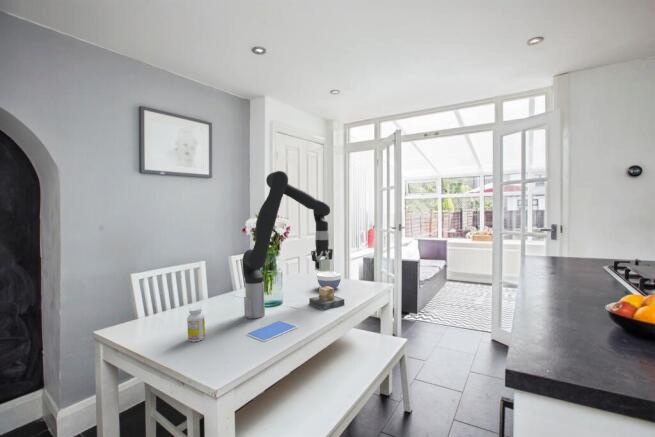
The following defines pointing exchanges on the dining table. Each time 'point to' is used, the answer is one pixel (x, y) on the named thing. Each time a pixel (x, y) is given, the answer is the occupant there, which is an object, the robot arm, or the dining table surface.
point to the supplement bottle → (196, 325)
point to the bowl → (329, 279)
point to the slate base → (326, 302)
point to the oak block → (326, 293)
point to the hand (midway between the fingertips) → (322, 267)
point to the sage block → (324, 265)
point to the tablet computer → (271, 331)
